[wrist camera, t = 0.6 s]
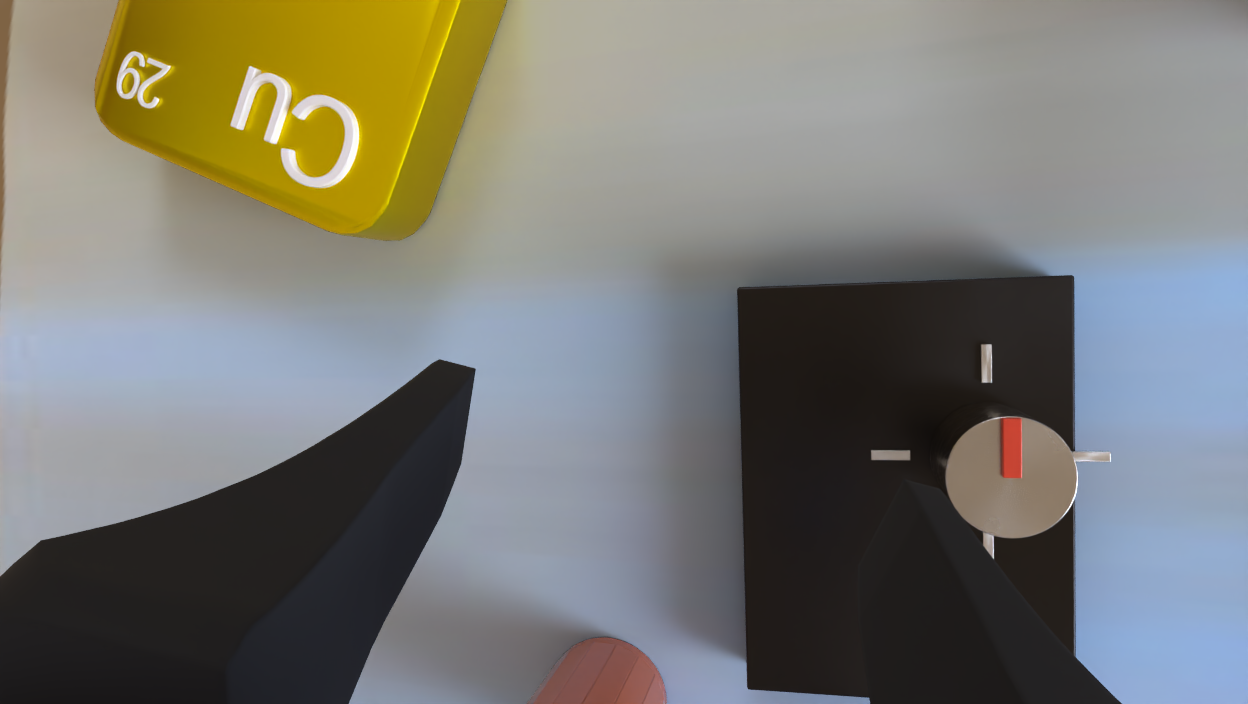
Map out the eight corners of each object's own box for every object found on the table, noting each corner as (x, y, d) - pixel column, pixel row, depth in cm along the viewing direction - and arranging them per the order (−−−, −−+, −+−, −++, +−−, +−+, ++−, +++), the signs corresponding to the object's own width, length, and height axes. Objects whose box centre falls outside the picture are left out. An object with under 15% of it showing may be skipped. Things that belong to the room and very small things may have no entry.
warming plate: (1088, 684, 34) (1110, 716, 31) (751, 664, 36) (746, 691, 34) (1087, 275, 33) (1110, 273, 30) (742, 288, 36) (736, 287, 33)
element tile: (537, -71, 37) (496, -125, 32) (418, 256, 39) (363, 250, 34) (248, -171, 39) (172, -234, 35) (152, 140, 41) (68, 120, 37)
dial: (1046, 510, 31) (1081, 543, 27) (930, 508, 32) (947, 539, 28) (1045, 400, 31) (1081, 416, 27) (928, 401, 32) (945, 417, 28)
